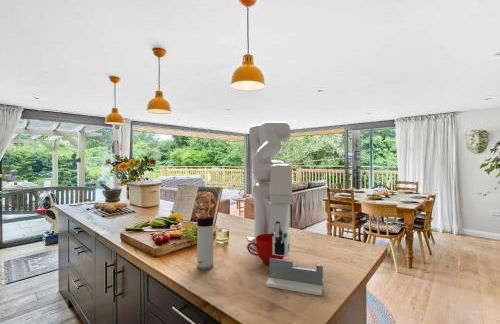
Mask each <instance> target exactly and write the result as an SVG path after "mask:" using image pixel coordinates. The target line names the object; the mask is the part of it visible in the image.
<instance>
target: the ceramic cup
mask: <svg viewBox="0 0 500 324" xmlns="http://www.w3.org/2000/svg"><path fill="white" fill-rule="evenodd" d="M274 235H275V233H274V234H262V235H259V236H257V237H256V243H253V242H248V244H247V246H246V250H247V252H248V253H250V254H251V255H253V256H256V257H259V259H260V260H261V261H262V262H263V263H264V264H265V265H268V266H270V258H276V259H283V260H284V257H285V256H280V255H273V236H274ZM252 244H253V245H255V246H256V248H257V251H256V252H257V253H256V252H253V251H251V250H250V246H252Z"/></svg>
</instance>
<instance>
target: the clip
mask: <svg viewBox="0 0 500 324" xmlns="http://www.w3.org/2000/svg"><path fill="white" fill-rule="evenodd" d="M279 237H281V235H279ZM290 240H291V234H290V233H287V234H284V239H283V243H284V255H280V256H284V257H288V256H289V255H288V253H290V252H291V241H290ZM273 255H276V254H275V235H274V236H273Z"/></svg>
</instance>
